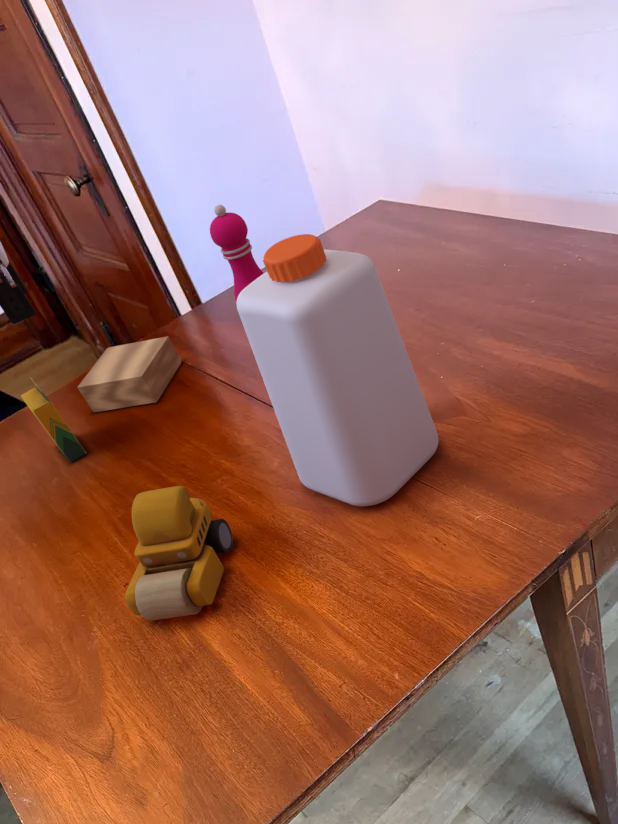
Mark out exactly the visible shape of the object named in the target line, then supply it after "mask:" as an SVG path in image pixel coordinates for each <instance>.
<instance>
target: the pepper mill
mask: <svg viewBox="0 0 618 824" xmlns="http://www.w3.org/2000/svg"><path fill="white" fill-rule="evenodd" d="M214 213H215V215H216V217H215V218H213V220H212V221H211V223H210V226H209V234H210V237H211V240H212V242H213V243H214V245H216V246H218V247H220V248H221V249H220V253H221V254H222V257H223V259H224V260H225V261H226V260H227V262H228V264H229V266H230V269H231V271H232V275H233V276H232V277H233V290H234V291H233V294H234V299H235V303H236V302H237V298H238V295H239V294H240V292H241V291H242V290H243V289H244V288H245V287H247V286H248V285H249V284H250V283H252V282H253V281H254V280H256V279H257V278H258V277H260V276H261V275H262V274H264V273H265V272H264V271H263V270H262V269H261V268H260V267H259V265H258V264H257V262H256V260H255V258H254V256H253V253H252V249H253V245H252V244H251V241H250V239H249V238H248V237H247V236H248V232H249V231H248V225H247V223H246V221H245V219H244V218H243V217H242V216H241V215H240V214H238V213H235V212H227V209H226V207H225V206H224V205H222V204H217V205H216V206H215V207H214Z"/></svg>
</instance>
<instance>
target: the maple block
mask: <svg viewBox="0 0 618 824" xmlns="http://www.w3.org/2000/svg"><path fill="white" fill-rule="evenodd" d="M182 362H183V361H182V359H181V357H180V356H179V353H178V351H177V349H176V347H175V346H174V344H173V342H172V341H171V338H170V336H168V335H167V336H162V337H157V338H151V339H147V340H141V341H136V342H131V343H126V344H119V345H115V346H109V347H107V348H106V349H105V350H104V351H103V353H101V355H100V356H99V358H98V359H97V361H96V362H95V363H94V365H92V367H91V369H90V370H89V371H88V372H87V373H86V375H85V376H84V378H83V379H82V380H81V382H79V384H78V386H77V390H78V391H79V392H80V394H81V396H82V397H83V399H84V400H85V402H86V403H87V405H88V406H89V408H90V410H91V411H92V412H93V413H100V412H106V411H111V410H118V409H119V410H120V409H125V408H130V407H135V406H136V407H137V406H143V405H148V404H153V403H158V401H159V400H160V398H161V396H162V395H163V394H164V392H165V391H166V388H167V387H168V386H169V384H170V382H171V380H172V378H173V377H174V375H175V374H176V372H177V370H178V369H179V367H180V366H181V363H182Z"/></svg>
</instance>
